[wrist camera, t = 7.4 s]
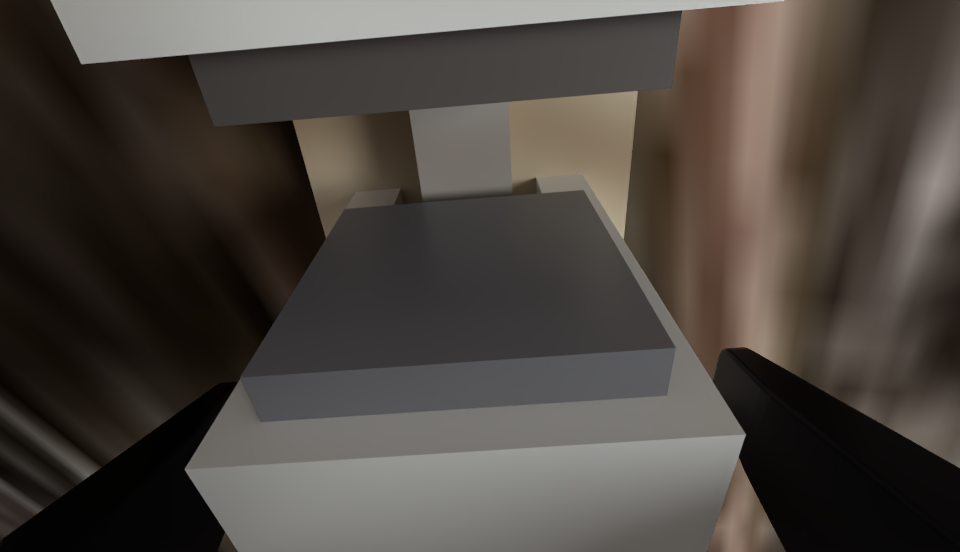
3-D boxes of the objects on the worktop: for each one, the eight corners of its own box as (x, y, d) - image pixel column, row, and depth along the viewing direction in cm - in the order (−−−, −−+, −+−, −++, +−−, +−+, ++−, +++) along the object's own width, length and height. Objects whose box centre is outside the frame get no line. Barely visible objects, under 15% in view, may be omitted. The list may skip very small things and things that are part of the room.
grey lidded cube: (574, 363, 13) (663, 681, 7) (398, 375, 13) (333, 698, 7) (582, 146, 10) (761, 384, 4) (349, 165, 10) (153, 424, 4)
